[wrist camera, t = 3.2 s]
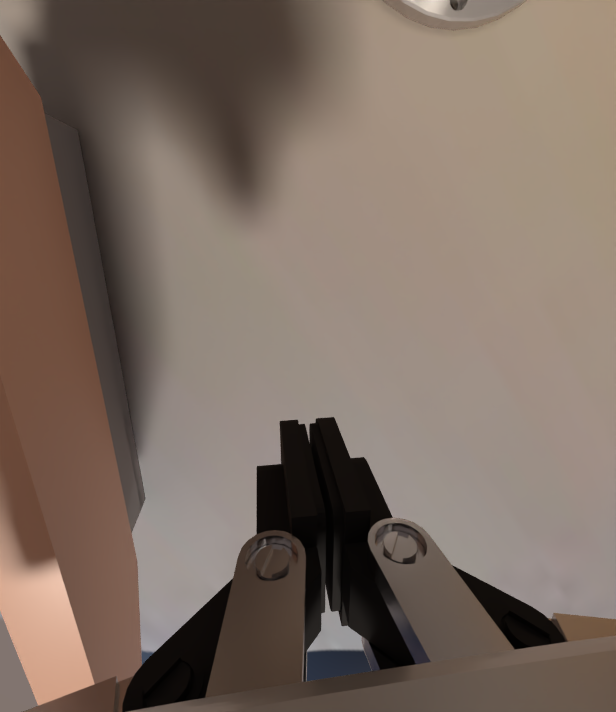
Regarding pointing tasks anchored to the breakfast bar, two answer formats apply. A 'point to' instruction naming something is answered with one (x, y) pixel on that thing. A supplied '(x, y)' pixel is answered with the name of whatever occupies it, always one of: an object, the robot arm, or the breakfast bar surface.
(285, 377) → the breakfast bar surface
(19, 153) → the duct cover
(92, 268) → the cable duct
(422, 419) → the breakfast bar surface
